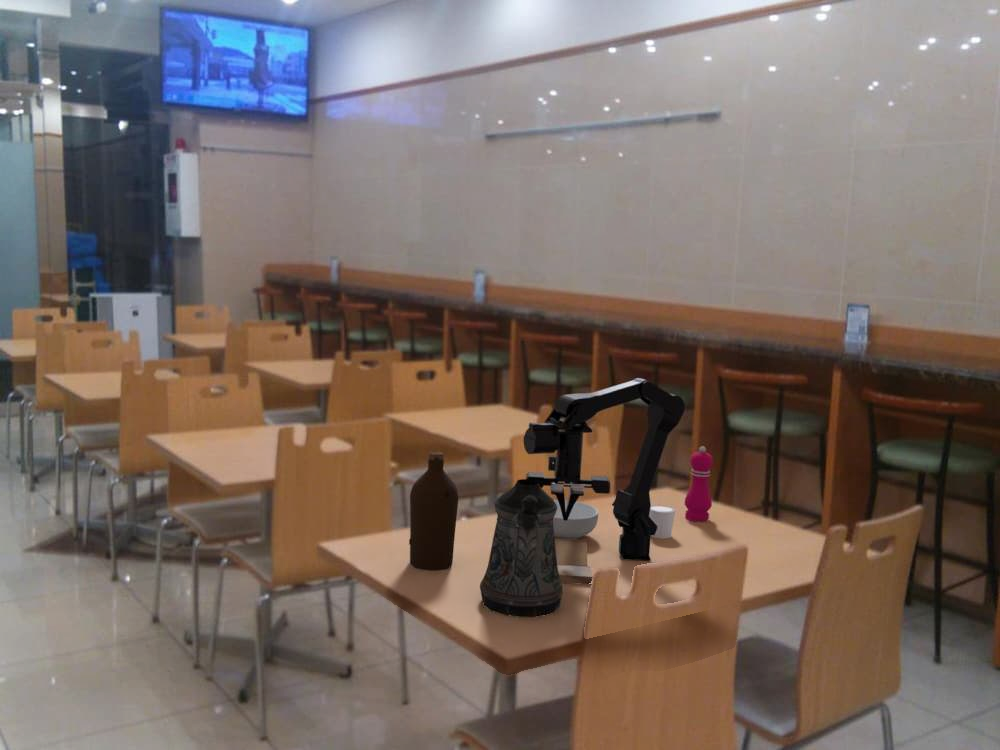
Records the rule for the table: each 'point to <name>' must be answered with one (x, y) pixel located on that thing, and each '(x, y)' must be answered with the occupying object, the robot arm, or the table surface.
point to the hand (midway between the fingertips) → (565, 520)
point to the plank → (571, 552)
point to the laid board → (575, 574)
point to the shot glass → (662, 520)
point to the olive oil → (433, 517)
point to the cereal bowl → (575, 521)
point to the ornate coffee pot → (523, 554)
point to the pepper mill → (699, 487)
